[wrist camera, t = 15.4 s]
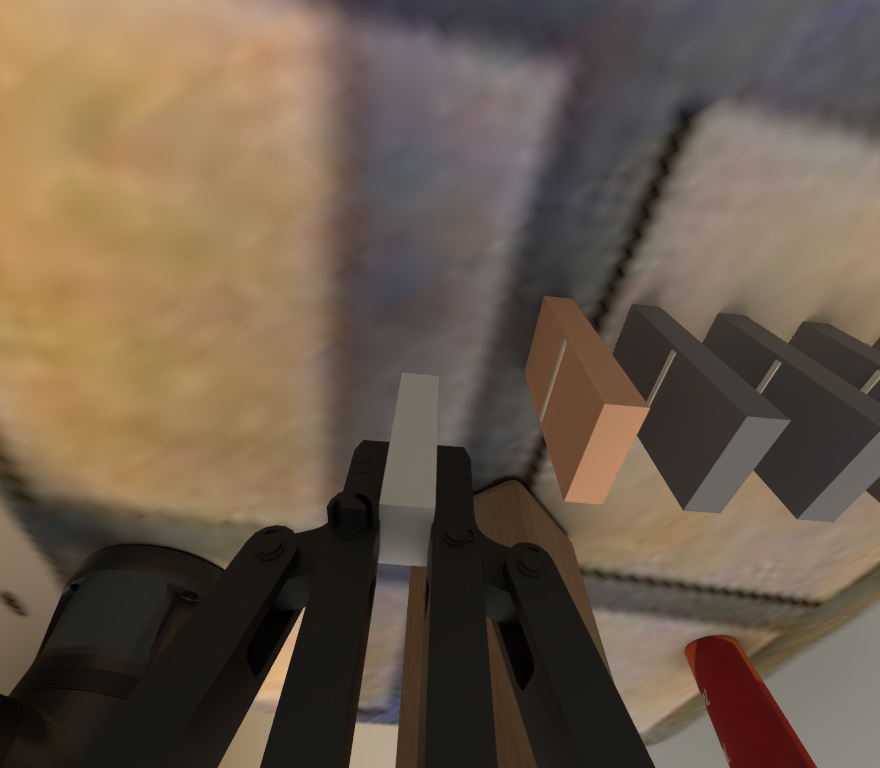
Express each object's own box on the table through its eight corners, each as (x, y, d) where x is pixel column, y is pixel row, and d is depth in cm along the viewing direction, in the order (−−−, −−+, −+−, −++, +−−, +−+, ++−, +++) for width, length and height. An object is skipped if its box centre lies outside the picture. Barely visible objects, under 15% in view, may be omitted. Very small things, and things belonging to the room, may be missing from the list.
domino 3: (754, 393, 25) (907, 527, 17) (802, 321, 22) (1013, 440, 14) (780, 395, 25) (944, 530, 17) (830, 324, 23) (1056, 444, 14)
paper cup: (660, 655, 46) (734, 838, 34) (708, 625, 42) (811, 821, 30) (713, 667, 47) (801, 846, 35) (765, 639, 43) (883, 830, 31)
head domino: (573, 298, 22) (651, 408, 13) (550, 374, 25) (603, 504, 16) (543, 295, 22) (603, 403, 13) (523, 372, 24) (562, 501, 16)
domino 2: (679, 386, 25) (795, 519, 17) (717, 313, 22) (880, 428, 14) (704, 389, 25) (834, 522, 17) (746, 316, 22) (926, 432, 14)
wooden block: (409, 519, 32) (372, 937, 16) (516, 470, 29) (611, 931, 13) (474, 575, 37) (499, 948, 20) (573, 538, 34) (699, 946, 17)
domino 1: (601, 379, 25) (682, 510, 16) (631, 304, 22) (745, 416, 14) (628, 381, 25) (721, 513, 16) (660, 307, 22) (792, 420, 14)
